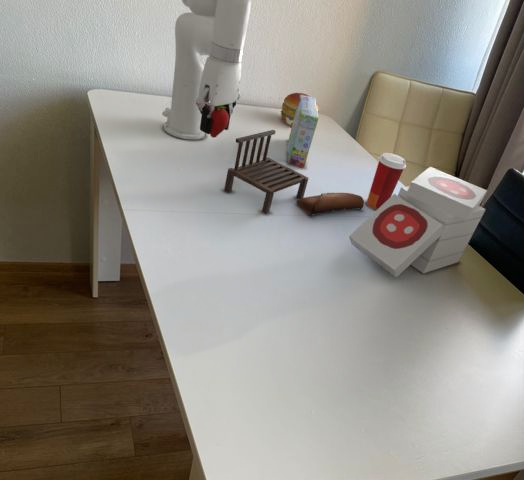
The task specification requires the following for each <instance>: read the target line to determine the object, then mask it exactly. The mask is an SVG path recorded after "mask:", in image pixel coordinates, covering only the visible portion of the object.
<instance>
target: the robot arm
mask: <svg viewBox="0 0 524 480" xmlns="http://www.w3.org/2000/svg"><path fill="white" fill-rule="evenodd" d="M181 2H182V3H183V5H184V6H185V7H187V8H189V10H190V11H191V12H183V13H181V14H180V15H179V16H178V17H177V18H176V20H175V23H174V24H175V25H174V38H175V39H174V40H175V55H174V56H175V58H174V71H173V83H172V94H171V103H170V107H166V108H165V109H164V110H163V111H162V112H161V115H162V116H163V117H165V118H167V119H166V122H164V123H163V130H164V131H165V132H166V133H167V134H169V135H170V136H172V137H176V138H179V139H182V140H188V141H189V140H193V141H194V140H201V139H203V138H205V136H206V135H210V133H211V128H212V121H213V118H211V116H212V114H213V111H214V109H215V106H220V105H222V106H224V107H226V108H224V109H225V110H226V111H227V113H228V115H229V122H228V124H227V126H226V128H225V129H224V131H228V130H229V127H230V121H231V116H232V114H233V112H234V109H235V107H236V106H237V103H238V102H239V101H240V99H241V93H240V85H241V77H242V59H243V54H244V49H245V48H244V47H245V44H246V43H245V42H246V36H247V31H248V27H249V19H250V15H251V8H252V0H181ZM202 56H206V60H205V63H204V61H203V59H202ZM208 105H209V106H210V109H209V111H208V109H207V106H208Z"/></svg>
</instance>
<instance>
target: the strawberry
mask: <svg viewBox="0 0 524 480" xmlns="http://www.w3.org/2000/svg"><path fill="white" fill-rule="evenodd" d="M224 108H226V107H224V106H222V105H220V106H215V109H214V111H213V114H212V116H211V118H213V121H212V128H211V133H210V134H209V135H210V137H211V138H214V139H215V138H217V137H218V136H219V135H220V134H221V133H223V131H225V128H226V126H227V124H228V122H229V115H228V113H227V111H226V110H225V109H224ZM207 109H208V111H209V109H210V106H209V105H208V106H207ZM229 123H230V122H229Z"/></svg>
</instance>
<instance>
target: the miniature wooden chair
mask: <svg viewBox="0 0 524 480" xmlns="http://www.w3.org/2000/svg"><path fill="white" fill-rule="evenodd" d="M273 135H276V130H275V129H271V130H266V131H262V132H257V133H253V134H250V135H246V136H245V135H244V136H241V137H237V138H235V143H237V144H238V146H237V150H236V151H237V152H236V157H235V161H234V167H229V168H227V173H226V179H225V183H224V188H223V189H224V190H223V191H224V192H225V193H227V194H229V193H232V191H233V185H234V180H235V178H237V179H240V180H241V181H243V182H245V183H246V184H248V185H250V186H252V187H254V188H255V189H257V190H259V191H261V192H263V193H265V196H264V200H263V205H262V210H261V213H263V214H266V215H268V214H269V213H270V211H271V207H272V203H273V202H272V201H273V199H274V194H275V193H277V192H281V191H283V190H285V189H287V188H290V187H293V186H296V185H298V184H299V186H298V188H297V189H298V190H297V193H296V196H295V198H296V199H297V200H299V199H302V198H305V197H304V196H305V193H306V189H307V185H308V183H309V182H308V181H309V179H310V177H309V176H307V175H304V174H302V173H300V172H298V171H296V170H295V169H292V168H290V167H288V166H286V165H284V164H282V163H280V162H279V161H276V160H274V159H272V158H271V157H269V156H268V153H269V149H270V144H271V140H272V139H271V138H272V136H273ZM265 137H266V141H265ZM258 140H259V143H258ZM251 141H252V145H251ZM264 142H265V145H264ZM244 143H245V146H244ZM257 145H258V148H257ZM243 146H244V152H243ZM250 146H251V149H250ZM263 147H264V150H263ZM256 148H257V153H256ZM249 150H251V151H250V155H249ZM242 152H243V156H242ZM262 152H263V155H262ZM255 154H256V155H255ZM241 156H242V162H241V161H240V160H241ZM255 156H256V158H255ZM248 157H249V160H248ZM261 157H262V159H261ZM254 158H255V159H254ZM254 160H255V161H254ZM247 161H248V163H247ZM240 162H241V165H240Z"/></svg>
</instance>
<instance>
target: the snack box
mask: <svg viewBox="0 0 524 480" xmlns="http://www.w3.org/2000/svg"><path fill="white" fill-rule="evenodd" d="M309 96H310V95H309ZM309 96H305V95H300V97H299V101H298V105H297V109H296V113H295V117H294V121H293V125H291V129H290V133H289V135H288V139H287V140H288V142H287V143H288V144H287V145H288V164H289V165H292V166H295V167H299V168H305V166H306V162H307V159H308V155H309V152H310V149H311V145H312V142H313V139H314V135H315V132H316V128H317V125H318V121H319V112H318V111H317V106H316V102H317V100H316V98H315V97H312V96H310V97H309ZM317 112H318V113H317Z"/></svg>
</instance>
